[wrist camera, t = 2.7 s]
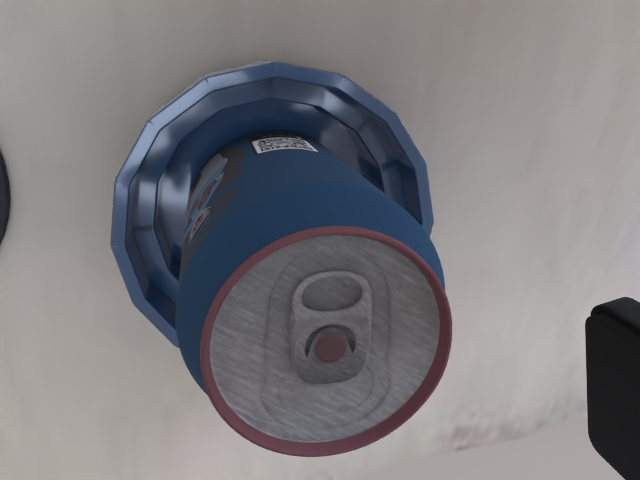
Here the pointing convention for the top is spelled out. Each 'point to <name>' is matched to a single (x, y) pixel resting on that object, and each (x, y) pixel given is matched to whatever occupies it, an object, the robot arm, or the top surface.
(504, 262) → the top surface
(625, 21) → the top surface
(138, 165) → the bowl
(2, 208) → the coaster
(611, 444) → the robot arm
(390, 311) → the soda can
